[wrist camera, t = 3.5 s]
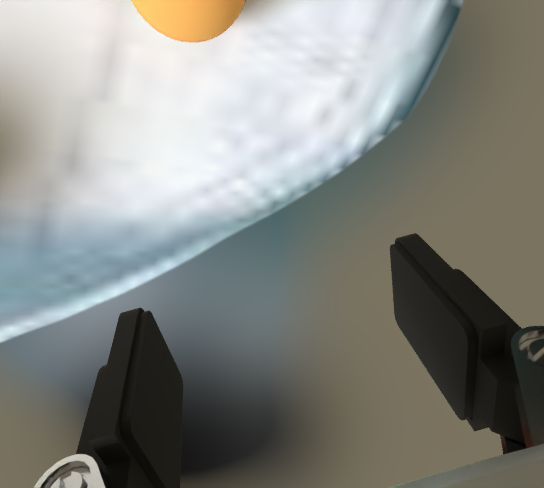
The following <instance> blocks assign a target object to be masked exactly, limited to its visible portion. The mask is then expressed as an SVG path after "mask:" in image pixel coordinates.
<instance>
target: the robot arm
mask: <svg viewBox="0 0 544 488" xmlns="http://www.w3.org/2000/svg"><path fill="white" fill-rule="evenodd" d="M390 255H391V256H390V257H391V271H392V285H393V300H394V314H395V319H396V322H397V324H398V326H399V328H400V329H401V331H402V332H403V334H404V335H405V337H406V338H407V340H408V341H409V343H410V344H411V346H412V347H413V349H414V351H415V352H416V354H417V355H418V357H419V358H420V360H421V361H422V363H423V364H424V366H425V367H426V369H427V371H428V372H429V374H430V375H431V377H432V378H433V380H434V381H435V383H436V384H437V386H438V388H439V389H440V391H441V392H442V394H443V395H444V397H445V398H446V400H447V401H448V403H449V404H450V406H451V407H452V409H453V411H454V412H455V414H456V415H457V416H458V417H459V419H461V420H465V419H467V421H468V422H469V424H470V425H471V427H472V428H473V429H474V431H477V430H481V429H484V428H487V427H489V428H490V429H491V431H492V432H495V433H497V434H500V439H501V445H502V451H503V455H501V456H497V457H494V458H490V459H486V460H483V461H480V462H476V463H473V464H469V465H466V466H462V467H459V468H455V469H452V470H448V471H445V472H441V473H438V474H434V475H431V476H427V477H424V478H420V479H417V480H414V481H410V482H406V483H403V484H400V485H396V486H393V487H389V488H544V326H530V327H526V328H521V327H519V326H518V325H517V324H516V323H515V322H514V321H513V320H512V319H511V318H510V317H509V316H508V315H507V314H506V313H505V312H504V311H503V310H502V309H501V308H500V307H499V306H498V305H497V304H496V303H495V302H494V301H492V300H491V299H490V298H489V297H488V296H487V295H486V294H485V293H484V292H483V291H482V290H481V289H480V288H479V287H478V286H477V285H476V284H475V283H474V282H473V281H472V280H471V279H470V278H468V277H467V276H466V275H465V274H464V273H463V272H462V271H460V270H458V269H454V270H453V269H452V268H451V267H450V266H449V265H448V264H447V263H446V262H445V261H444V260H443V259H442V258H441V257H440V256H439V255H438V254H437V253H436V252H435V251H434V250H433V249H432V248H431V247H430V246H429V245H428V244H427V243H426V242H425V241H424V240H423V239H422V238H421V237H420V236H419V235H418V234H411V235H407V236H403V237H400V238H397V239H396V240H395V244H393V245H391V246H390ZM182 404H183V381H182V377H181V374H180V372H179V370H178V368H177V365H176V363H175V361H174V359H173V357H172V355H171V353H170V351H169V349H168V346H167V344H166V342H165V340H164V338H163V336H162V334H161V332H160V330H159V328H158V326H157V323H156V321H155V319H154V317H153V315H152V313H151V312H150V311H146V312H144V310H143V309H142V308H138V309H134V310H130V311H127V312H123V313H121V314H120V316H119V319H118V323H117V327H116V331H115V335H114V339H113V343H112V347H111V351H110V355H109V359H108V363H107V365H105V366H103V367H101V368H100V370H99V372H98V375H97V379H96V382H95V387H94V390H93V394H92V397H91V401H90V405H89V408H88V412H87V416H86V419H85V423H84V427H83V430H82V434H81V438H80V441H79V445H78V449H77V453H76V455H73V456H69V457H66V458H65V459H63V460H61V461H59V462H57V463H56V464H55V465H54V466H52V467H51V468H50V469H48V470H47V471H46V472H45V474H44V475H43V476H42V477H41V478H40V479H39V480H38V482H37V483H36V485H35V487H34V488H180V463H181V462H180V461H181V433H182Z"/></svg>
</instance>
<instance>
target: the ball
mask: <svg viewBox="0 0 544 488" xmlns="http://www.w3.org/2000/svg"><path fill="white" fill-rule="evenodd" d="M131 1H132V3H133V5H134V6H135V8H136V9H137V11H138V12H139V14H140V15H141V16H142V17H143V18H144V19H145V21H146V22H148V23H149V24H150V25H151V26H152V27H153V28H154V29H156V30H157V31H158V32H160V33H162V34H164V35H165V36H167V37H170V38H172V39H175V40H178V41H182V42H202V41H207V40H210V39H213V38H215V37H217V36H219V35H220V34H222V33H223V32H224V31H226V30H227V29H228V28H229V27H230V26H231V25H232V24H233V23H234V21H235V20H236V19H237V17H238V16H239V14H240V12H241V11H242V8H243V6H244V4H245V1H246V0H131Z"/></svg>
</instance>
